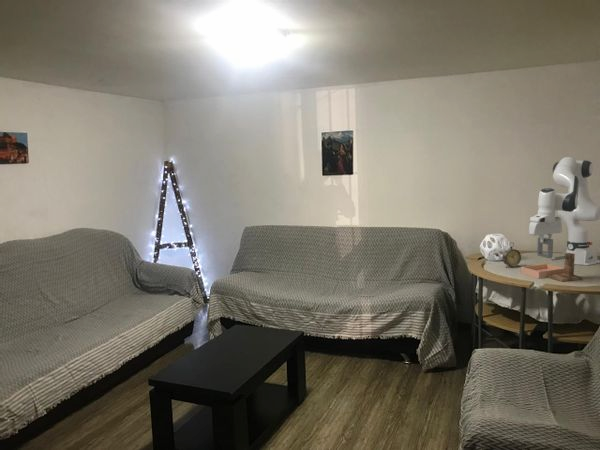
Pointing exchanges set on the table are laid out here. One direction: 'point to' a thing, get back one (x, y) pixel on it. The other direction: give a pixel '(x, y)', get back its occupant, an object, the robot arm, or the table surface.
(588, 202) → the robot arm
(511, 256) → the alarm clock
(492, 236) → the decorative ball
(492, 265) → the table surface
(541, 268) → the dish
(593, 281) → the table surface
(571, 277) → the stand
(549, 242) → the grey rectangular frame
